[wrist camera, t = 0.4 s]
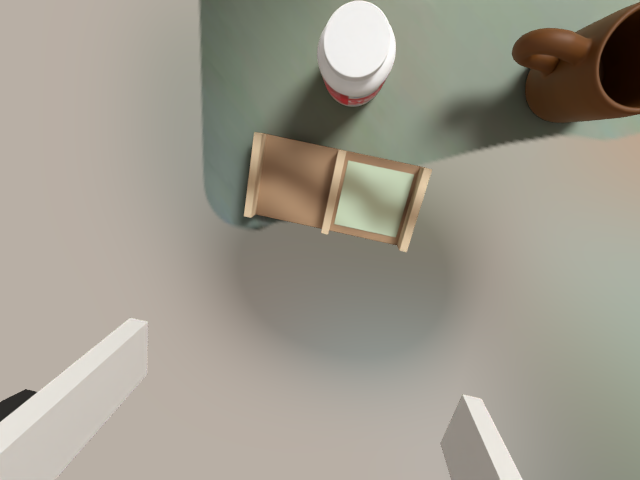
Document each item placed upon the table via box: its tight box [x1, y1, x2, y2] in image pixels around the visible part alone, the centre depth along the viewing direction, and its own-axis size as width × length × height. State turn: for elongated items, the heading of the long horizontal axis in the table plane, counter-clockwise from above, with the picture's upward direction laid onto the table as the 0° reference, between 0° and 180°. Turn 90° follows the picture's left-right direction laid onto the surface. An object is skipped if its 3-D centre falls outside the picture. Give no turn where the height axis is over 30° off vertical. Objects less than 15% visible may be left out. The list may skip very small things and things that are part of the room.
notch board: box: [244, 132, 432, 252], centre depth 34 cm, size 9×18×3 cm, turn 79°
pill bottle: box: [317, 1, 396, 106], centre depth 26 cm, size 6×6×11 cm
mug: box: [512, 2, 640, 123], centre depth 26 cm, size 12×8×9 cm, turn 78°
